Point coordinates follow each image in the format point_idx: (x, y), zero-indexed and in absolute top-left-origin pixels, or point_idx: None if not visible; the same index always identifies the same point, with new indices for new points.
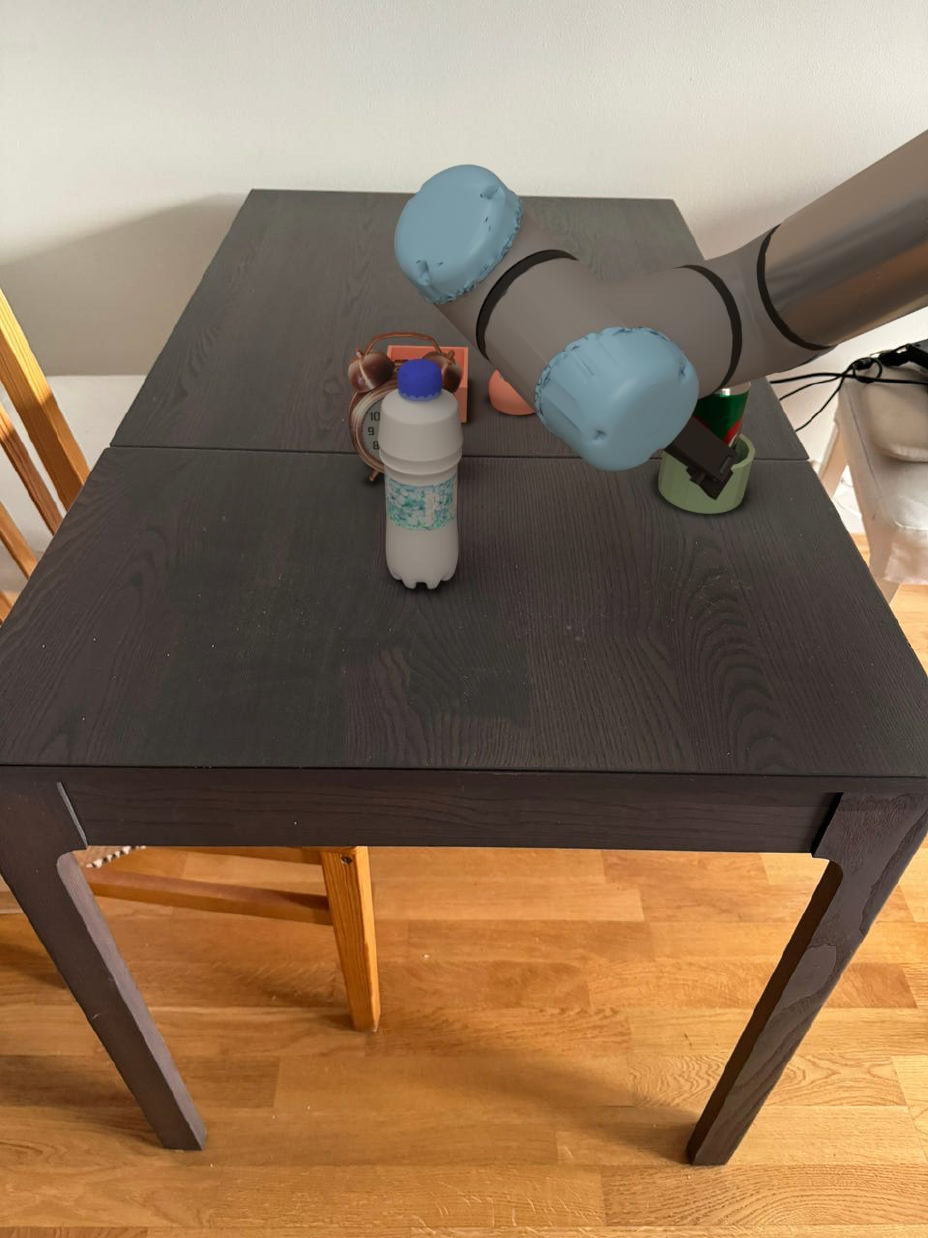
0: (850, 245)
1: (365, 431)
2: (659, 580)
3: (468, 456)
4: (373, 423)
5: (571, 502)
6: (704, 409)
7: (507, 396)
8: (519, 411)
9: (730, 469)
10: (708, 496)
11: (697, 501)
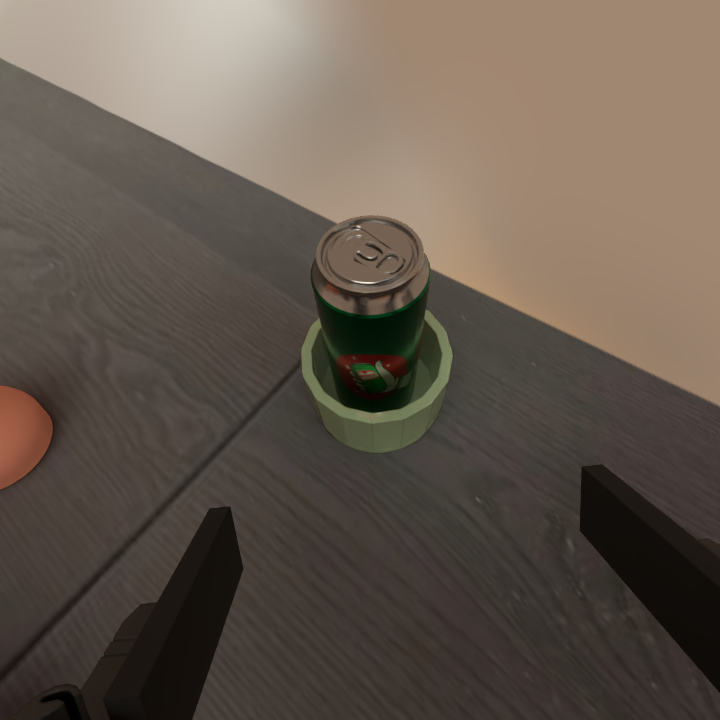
0: None
1: None
2: (535, 644)
3: (11, 666)
4: None
5: (266, 598)
6: (381, 341)
7: None
8: (24, 470)
9: (618, 478)
10: (580, 531)
11: (418, 434)
